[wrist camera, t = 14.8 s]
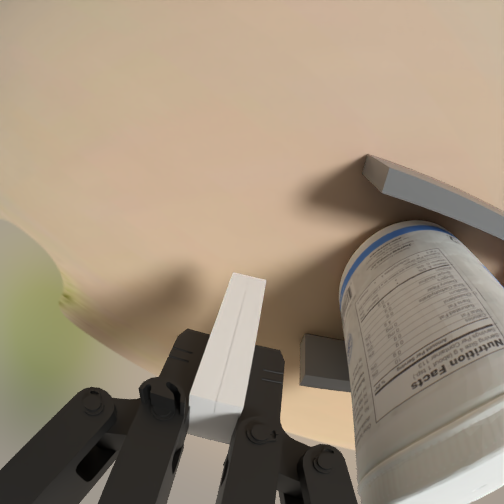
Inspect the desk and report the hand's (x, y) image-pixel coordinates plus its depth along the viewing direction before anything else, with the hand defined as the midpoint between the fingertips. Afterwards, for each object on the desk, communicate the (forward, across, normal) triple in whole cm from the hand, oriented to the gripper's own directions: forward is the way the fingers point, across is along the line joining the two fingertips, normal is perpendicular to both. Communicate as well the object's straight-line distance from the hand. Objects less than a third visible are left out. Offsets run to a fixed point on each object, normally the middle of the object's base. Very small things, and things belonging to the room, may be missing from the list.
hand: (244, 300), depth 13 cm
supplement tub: (+6, +10, 0) cm, 12 cm away
